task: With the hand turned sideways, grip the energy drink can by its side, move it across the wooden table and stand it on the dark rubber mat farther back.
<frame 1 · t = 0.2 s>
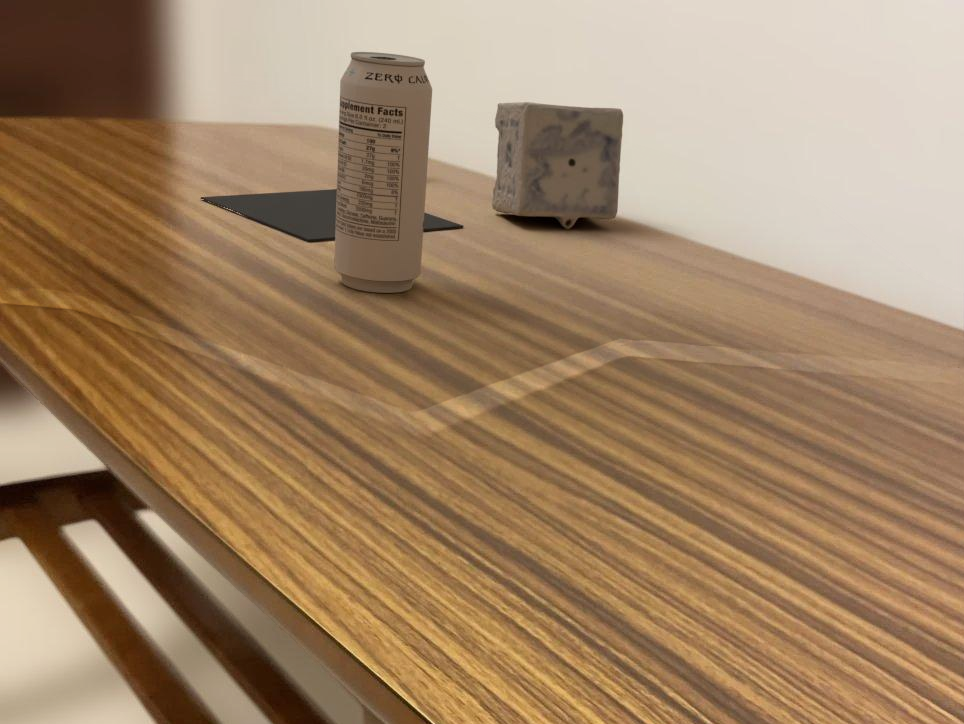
incense holder: (550, 222, 113), on the table
seedling: (379, 179, 124), on the table
mat: (332, 213, 106), on the table
energy drink can: (376, 286, 87), on the table
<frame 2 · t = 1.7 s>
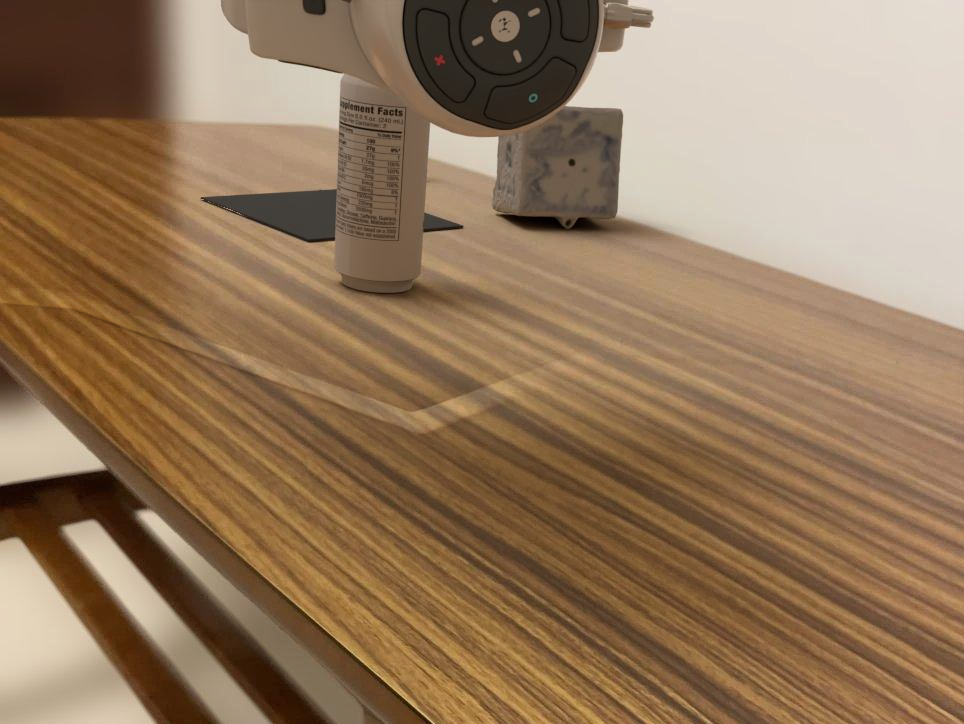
nothing on the table moved.
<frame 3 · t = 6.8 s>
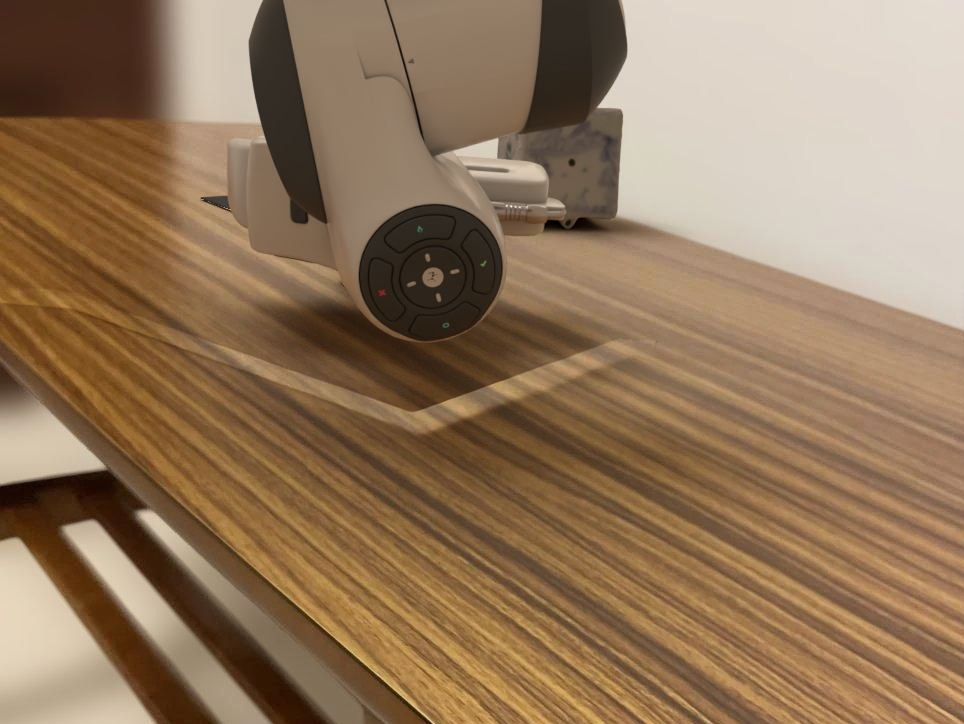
hand: (381, 164, 84), 8 cm above the table, tool horizontal, fingers closed on energy drink can, 6 cm apart
energy drink can: (377, 286, 87), on the table, touching gripper
everything else where it was.
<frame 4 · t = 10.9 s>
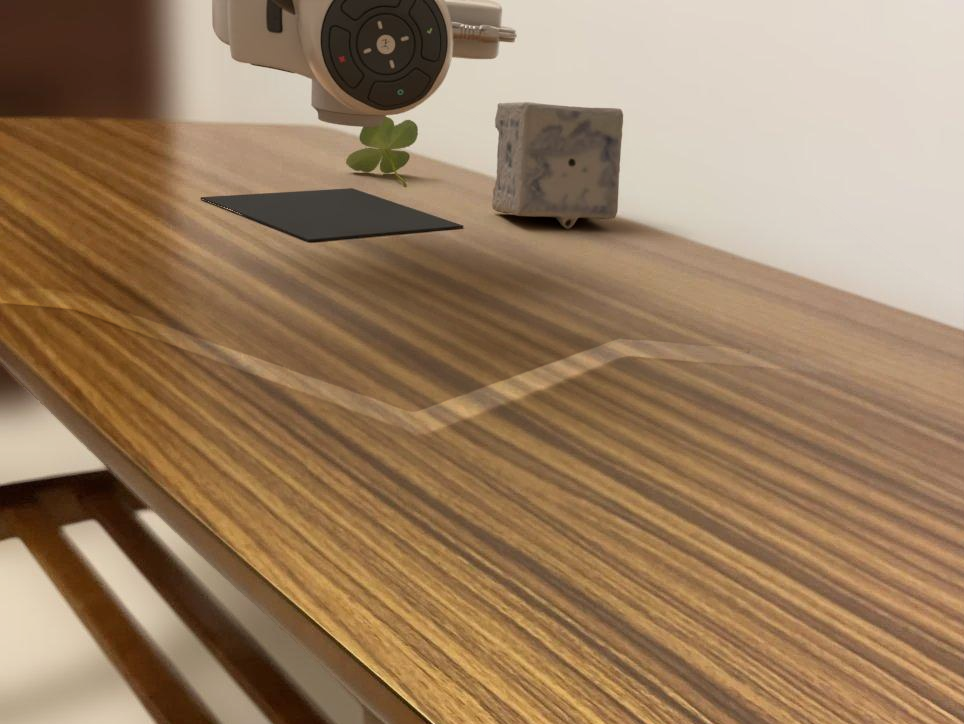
hand: (353, 8, 93), 17 cm above the table, tool horizontal, fingers closed on energy drink can, 6 cm apart
energy drink can: (350, 124, 95), point 9 cm above the table, touching gripper
everything else where it was.
when the fingers open (8 cm above the table, at t = 15.0 s): energy drink can stays where it is, resting on mat.
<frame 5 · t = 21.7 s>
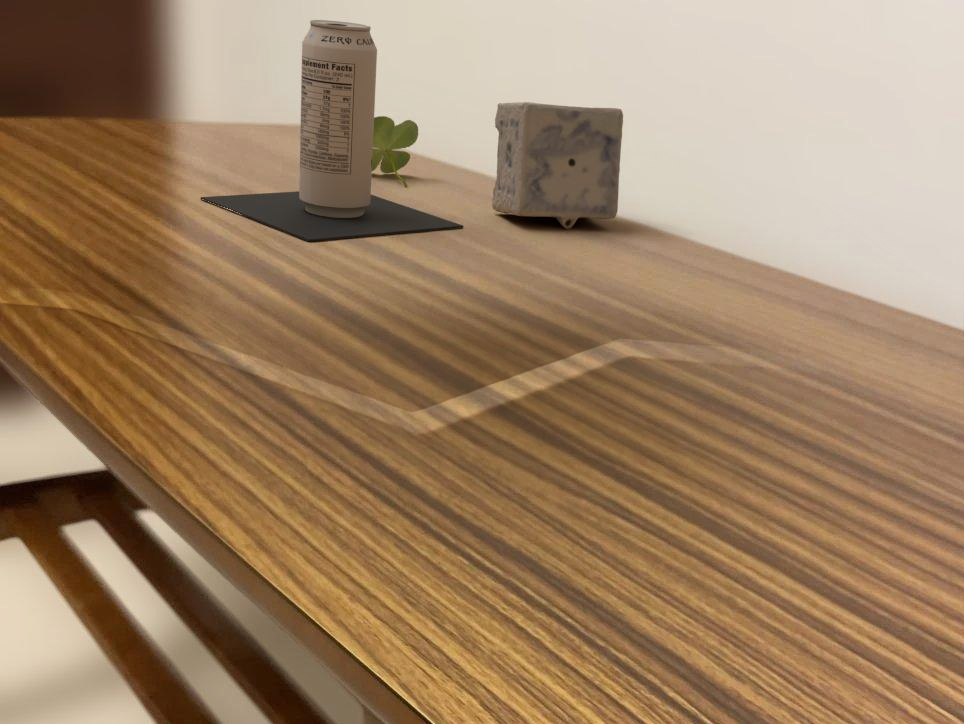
energy drink can: (334, 213, 106), resting on mat
everything else where it was.
at the end: energy drink can inside the target area on the mat (0.2 cm from its centre), point 0.0 cm above the mat's base; energy drink can tilted 0°; the gripper is holding nothing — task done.
